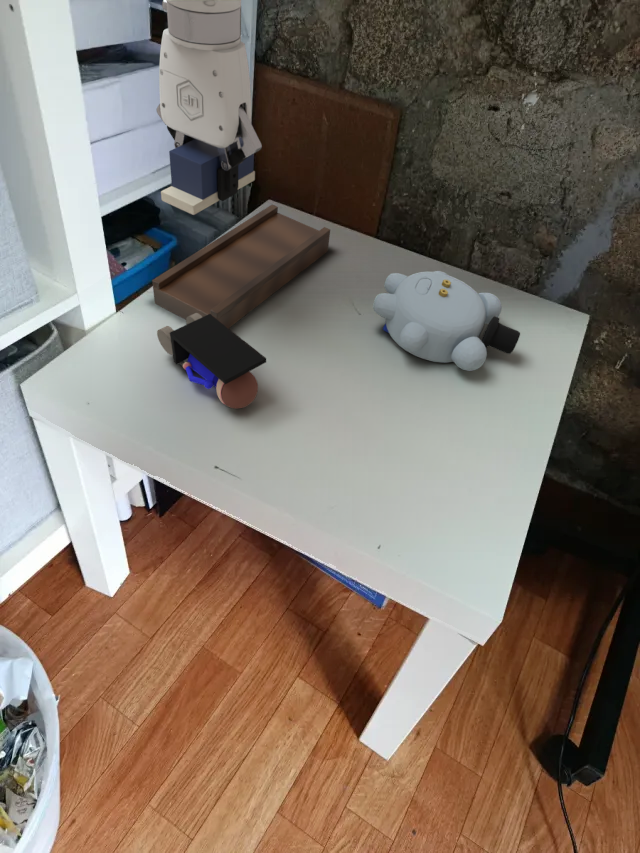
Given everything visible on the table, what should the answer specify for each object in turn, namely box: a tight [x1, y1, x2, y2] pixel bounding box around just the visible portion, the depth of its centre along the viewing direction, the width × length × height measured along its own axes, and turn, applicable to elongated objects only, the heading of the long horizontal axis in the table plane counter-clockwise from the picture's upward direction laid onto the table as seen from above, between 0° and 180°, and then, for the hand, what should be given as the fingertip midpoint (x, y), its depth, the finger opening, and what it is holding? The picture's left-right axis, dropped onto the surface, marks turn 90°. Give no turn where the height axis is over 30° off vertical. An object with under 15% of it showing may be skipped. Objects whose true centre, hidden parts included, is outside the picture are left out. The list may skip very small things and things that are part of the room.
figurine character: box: [156, 313, 267, 410], centre depth 79 cm, size 7×8×15 cm
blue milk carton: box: [160, 137, 256, 216], centre depth 78 cm, size 12×5×6 cm, turn 147°
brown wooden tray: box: [151, 204, 331, 329], centre depth 96 cm, size 28×11×4 cm, turn 147°
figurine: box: [372, 270, 521, 372], centre depth 89 cm, size 17×8×20 cm
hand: (209, 186), depth 80 cm, fingers closed on blue milk carton, 5 cm apart
